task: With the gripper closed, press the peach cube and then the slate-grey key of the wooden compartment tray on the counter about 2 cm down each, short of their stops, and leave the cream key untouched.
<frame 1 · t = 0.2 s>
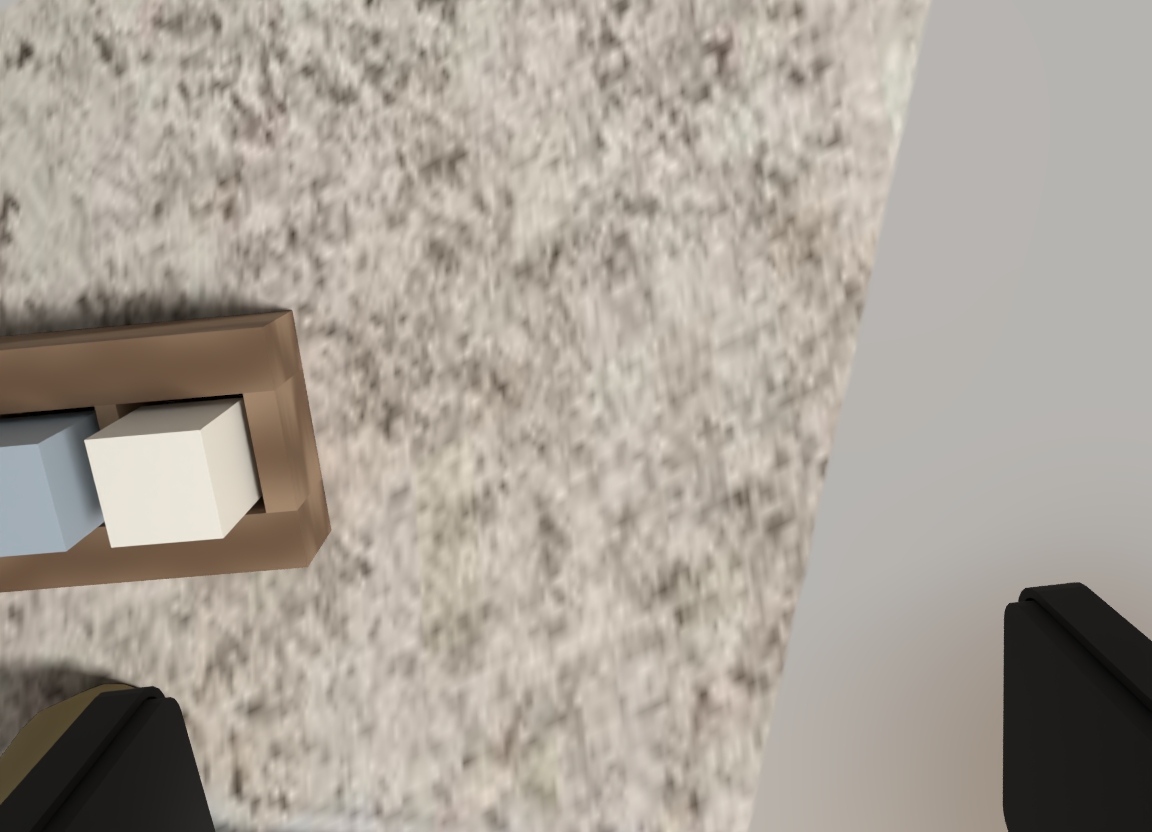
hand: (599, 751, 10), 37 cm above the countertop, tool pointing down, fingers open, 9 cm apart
squeeze bottle: (123, 723, 52), on the countertop
key cream: (180, 469, 42), point 6 cm above the countertop, slide at 0.0 cm
key slate: (30, 482, 42), point 6 cm above the countertop, slide at 0.0 cm
wooden compartment tray: (95, 442, 47), on the countertop
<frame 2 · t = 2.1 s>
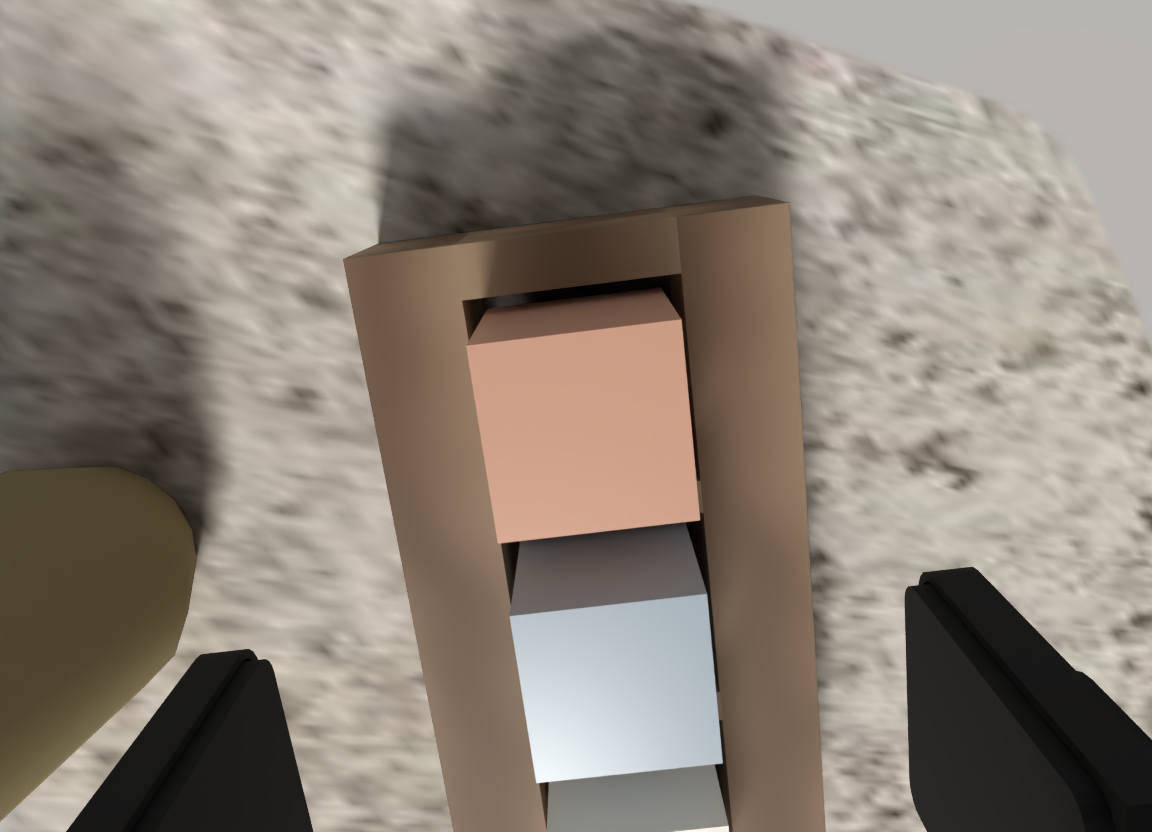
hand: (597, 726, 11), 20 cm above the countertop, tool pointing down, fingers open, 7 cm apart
squeeze bottle: (116, 540, 32), on the countertop
peach cube: (585, 406, 24), point 6 cm above the countertop, slide at 0.0 cm
key slate: (614, 639, 26), point 6 cm above the countertop, slide at 0.0 cm
wooden compartment tray: (607, 553, 32), on the countertop
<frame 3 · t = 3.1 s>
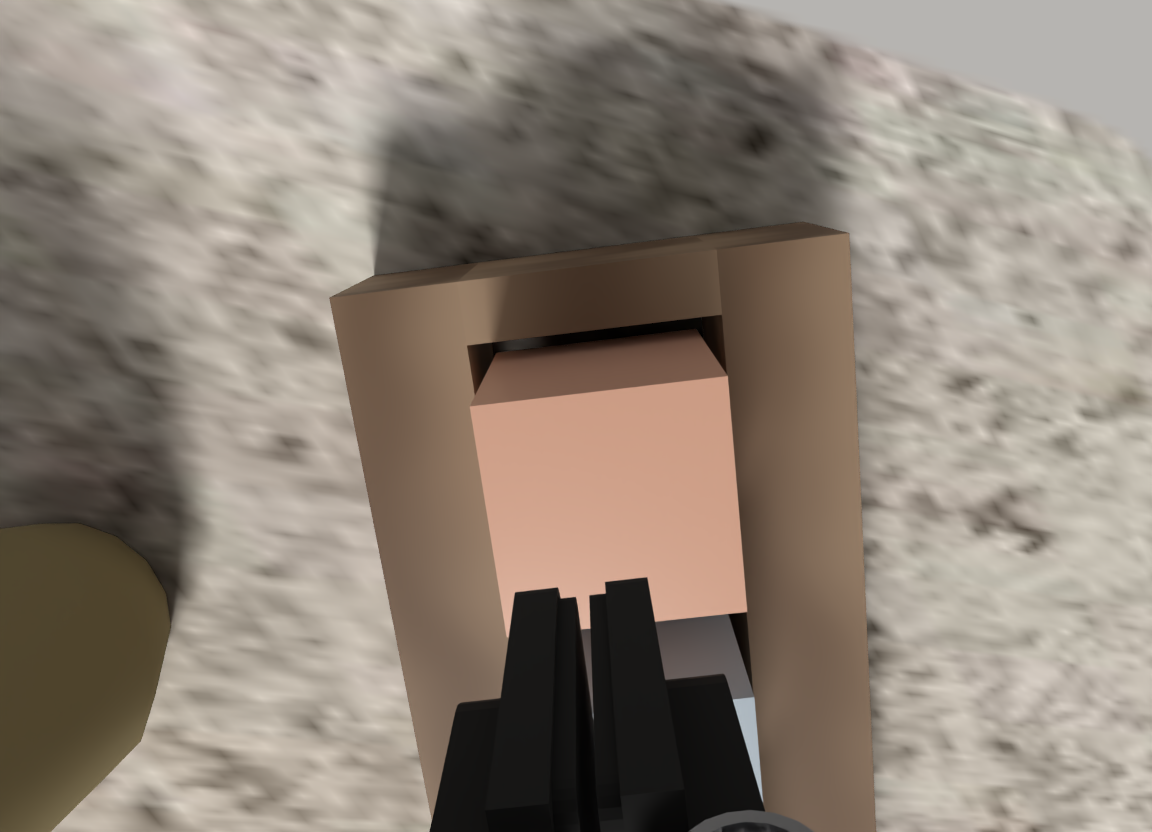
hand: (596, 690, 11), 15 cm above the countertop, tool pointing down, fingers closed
squeeze bottle: (83, 604, 28), on the countertop
peach cube: (609, 469, 21), point 6 cm above the countertop, slide at 0.0 cm
key slate: (641, 735, 22), point 6 cm above the countertop, slide at 0.0 cm
wooden compartment tray: (631, 621, 28), on the countertop
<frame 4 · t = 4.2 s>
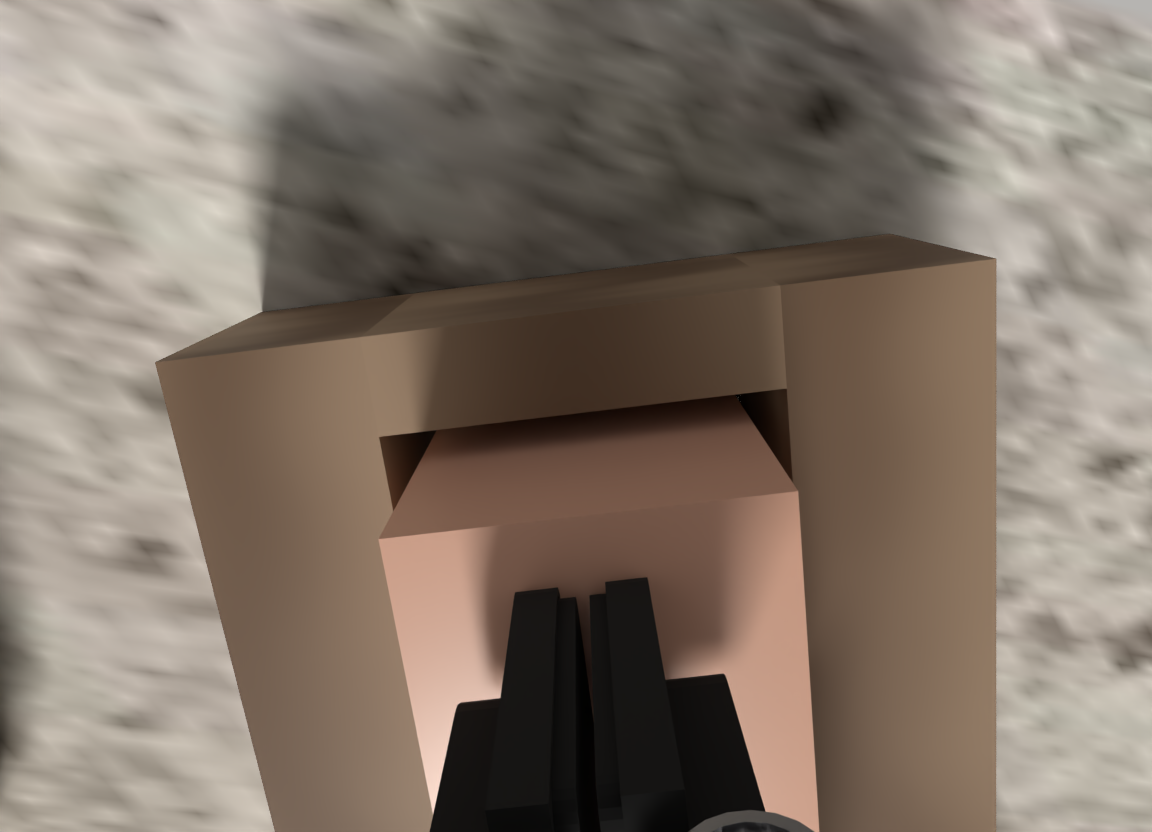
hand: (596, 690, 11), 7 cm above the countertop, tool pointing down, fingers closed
peach cube: (604, 601, 14), point 5 cm above the countertop, slide at 1.3 cm, touching gripper
wooden compartment tray: (635, 787, 20), on the countertop
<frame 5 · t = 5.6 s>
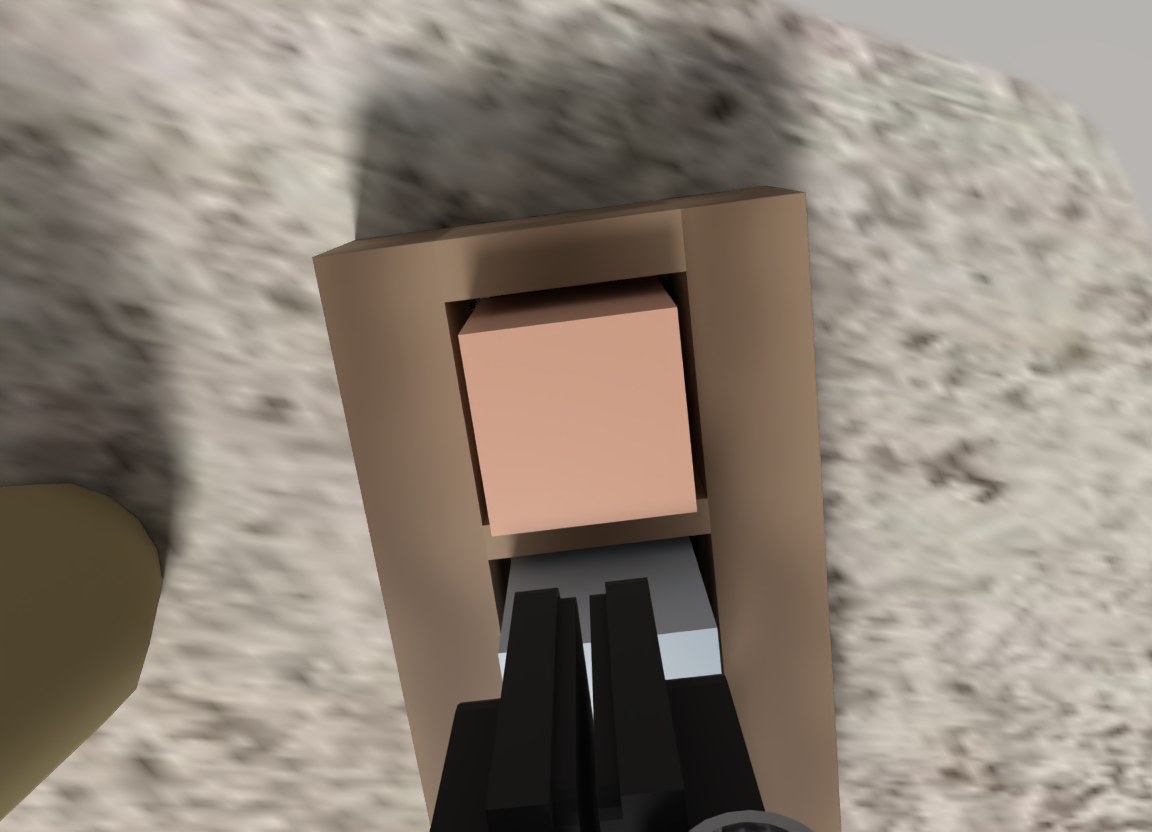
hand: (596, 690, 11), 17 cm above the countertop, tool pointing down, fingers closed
squeeze bottle: (76, 562, 29), on the countertop
peach cube: (580, 396, 24), point 4 cm above the countertop, slide at 2.0 cm
key slate: (614, 672, 24), point 6 cm above the countertop, slide at 0.0 cm
wooden compartment tray: (606, 573, 29), on the countertop
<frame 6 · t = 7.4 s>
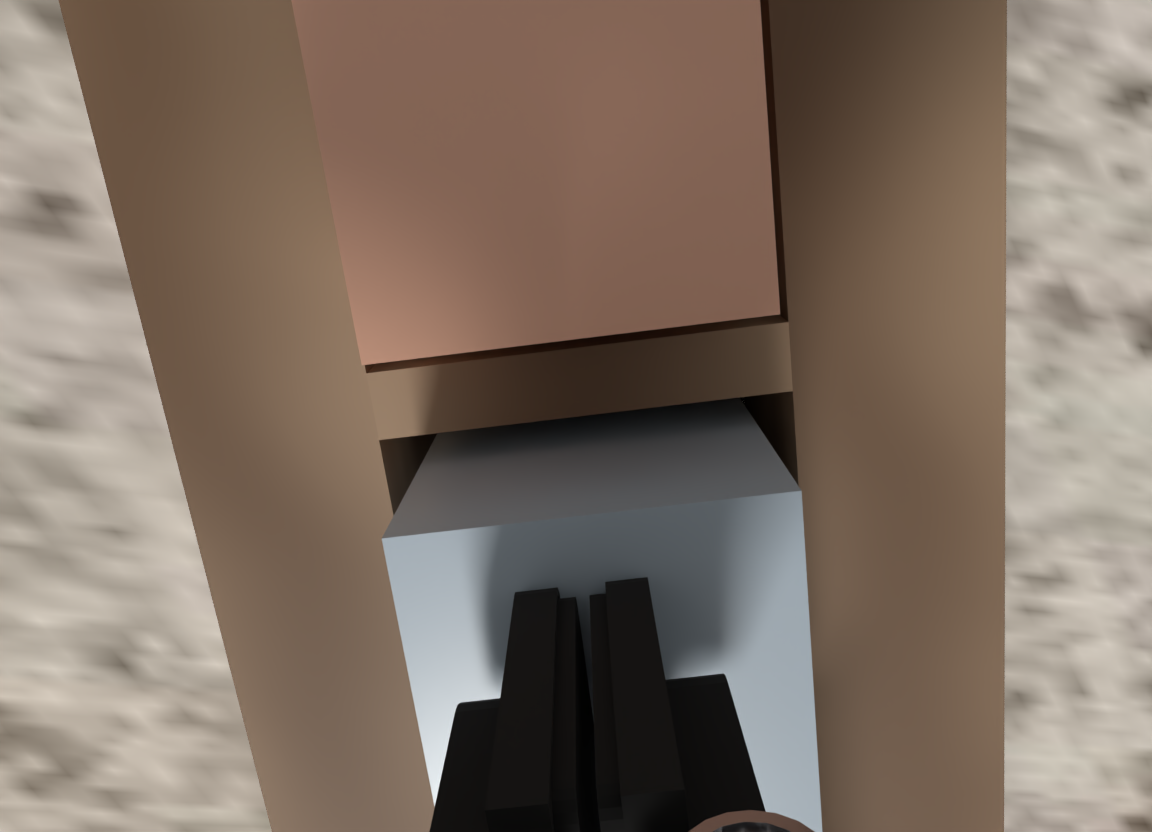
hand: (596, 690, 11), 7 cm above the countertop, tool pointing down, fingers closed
peach cube: (549, 128, 13), point 4 cm above the countertop, slide at 2.0 cm
key slate: (607, 600, 14), point 4 cm above the countertop, slide at 1.4 cm, touching gripper
wooden compartment tray: (601, 497, 18), on the countertop
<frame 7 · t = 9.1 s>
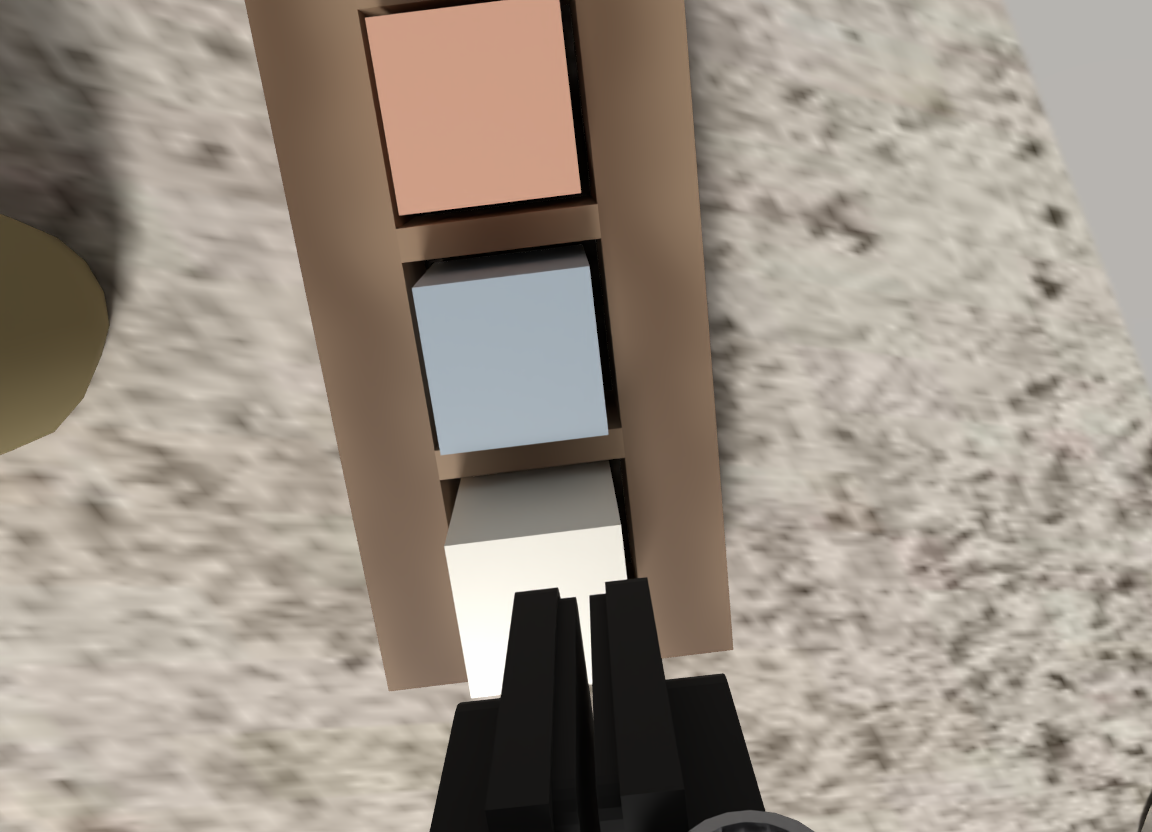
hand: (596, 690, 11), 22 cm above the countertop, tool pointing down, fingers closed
squeeze bottle: (28, 307, 32), on the countertop
peach cube: (483, 110, 26), point 4 cm above the countertop, slide at 2.0 cm
key cream: (544, 571, 29), point 6 cm above the countertop, slide at 0.0 cm
key slate: (515, 343, 29), point 4 cm above the countertop, slide at 2.0 cm
wooden compartment tray: (519, 319, 32), on the countertop
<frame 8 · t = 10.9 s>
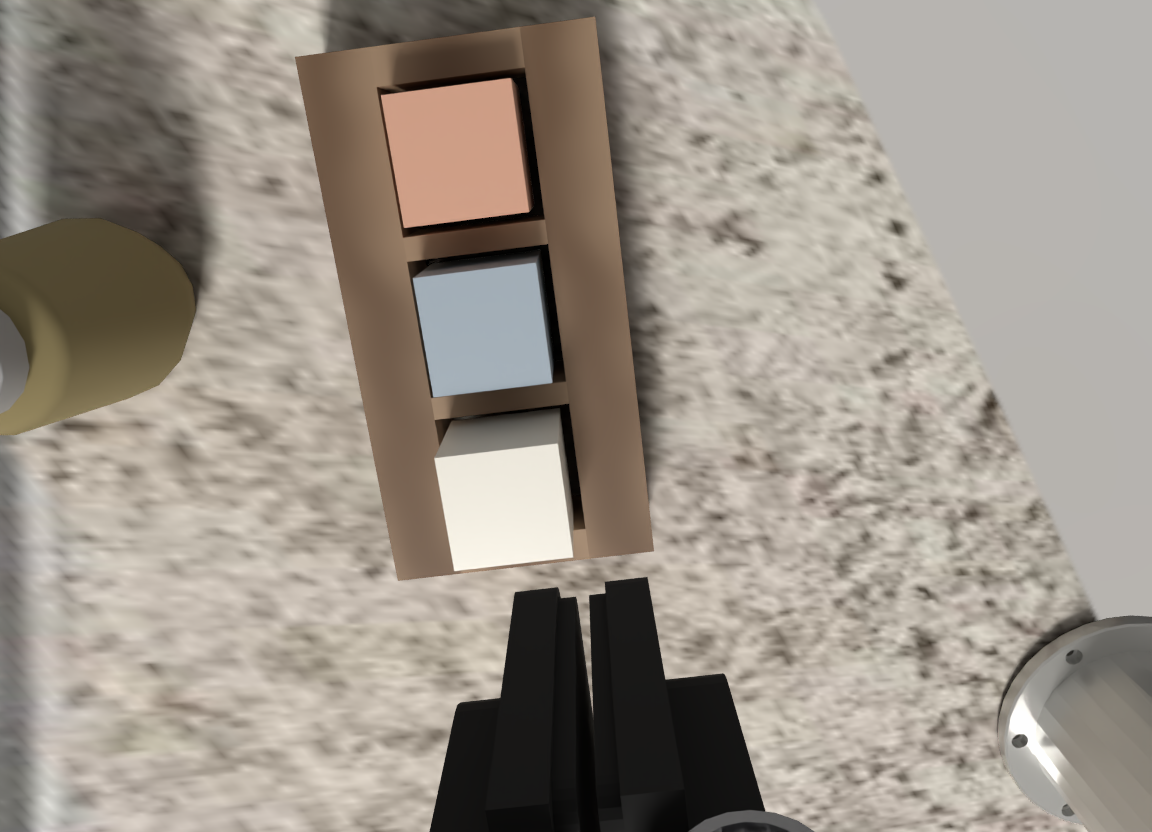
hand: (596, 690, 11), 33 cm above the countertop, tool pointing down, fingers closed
squeeze bottle: (137, 297, 43), on the countertop
peach cube: (464, 154, 38), point 4 cm above the countertop, slide at 2.0 cm
key cream: (509, 485, 40), point 6 cm above the countertop, slide at 0.0 cm
key slate: (489, 320, 40), point 4 cm above the countertop, slide at 2.0 cm
wooden compartment tray: (496, 306, 43), on the countertop
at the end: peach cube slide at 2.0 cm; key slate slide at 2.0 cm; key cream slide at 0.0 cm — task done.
